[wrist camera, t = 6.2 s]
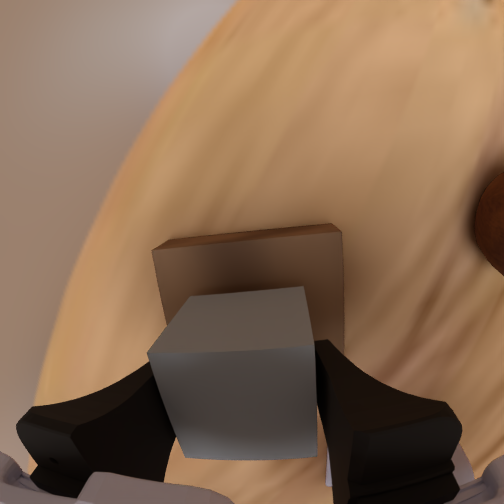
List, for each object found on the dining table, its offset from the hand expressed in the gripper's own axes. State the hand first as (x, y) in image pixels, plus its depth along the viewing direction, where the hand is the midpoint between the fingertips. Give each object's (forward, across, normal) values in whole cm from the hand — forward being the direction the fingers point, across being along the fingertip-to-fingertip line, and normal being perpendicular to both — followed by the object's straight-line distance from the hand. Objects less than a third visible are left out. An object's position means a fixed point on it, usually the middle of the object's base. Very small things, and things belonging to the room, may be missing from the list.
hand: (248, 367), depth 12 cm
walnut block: (+6, 0, 0) cm, 6 cm away
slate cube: (+2, 0, 0) cm, 2 cm away
